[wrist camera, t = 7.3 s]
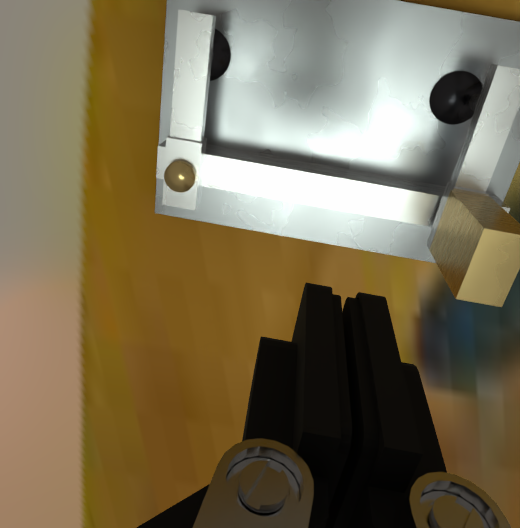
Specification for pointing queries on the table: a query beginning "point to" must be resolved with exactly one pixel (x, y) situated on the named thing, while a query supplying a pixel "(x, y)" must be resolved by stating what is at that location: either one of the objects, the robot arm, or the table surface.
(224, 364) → the table surface
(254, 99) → the bolt plate
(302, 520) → the robot arm
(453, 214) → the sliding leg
